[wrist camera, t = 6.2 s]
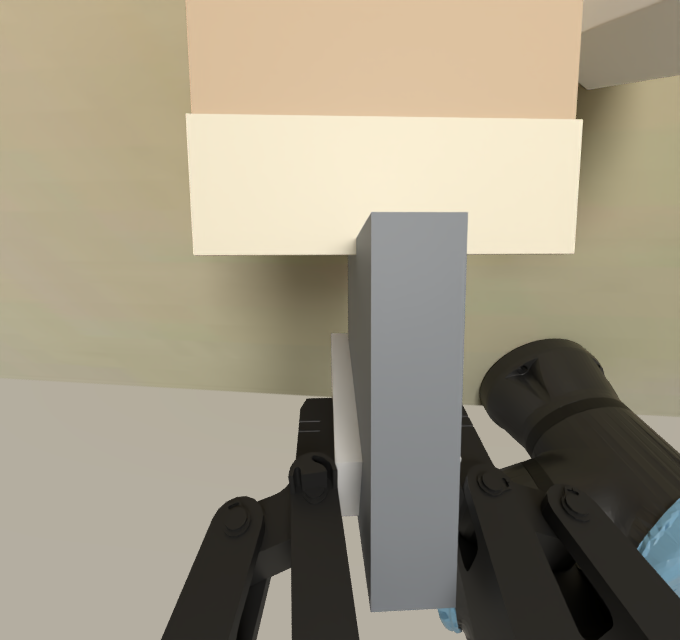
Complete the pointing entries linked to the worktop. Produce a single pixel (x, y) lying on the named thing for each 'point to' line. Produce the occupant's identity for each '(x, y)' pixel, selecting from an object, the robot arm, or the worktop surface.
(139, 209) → the worktop surface
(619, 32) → the milk
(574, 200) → the flap
